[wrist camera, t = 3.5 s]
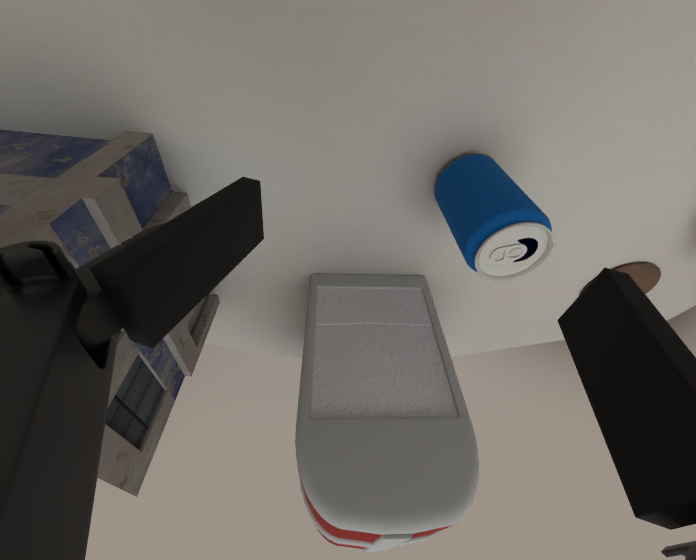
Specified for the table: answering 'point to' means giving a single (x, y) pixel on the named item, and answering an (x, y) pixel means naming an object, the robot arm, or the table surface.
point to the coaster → (640, 274)
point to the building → (93, 240)
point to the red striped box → (381, 415)
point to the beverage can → (492, 219)
